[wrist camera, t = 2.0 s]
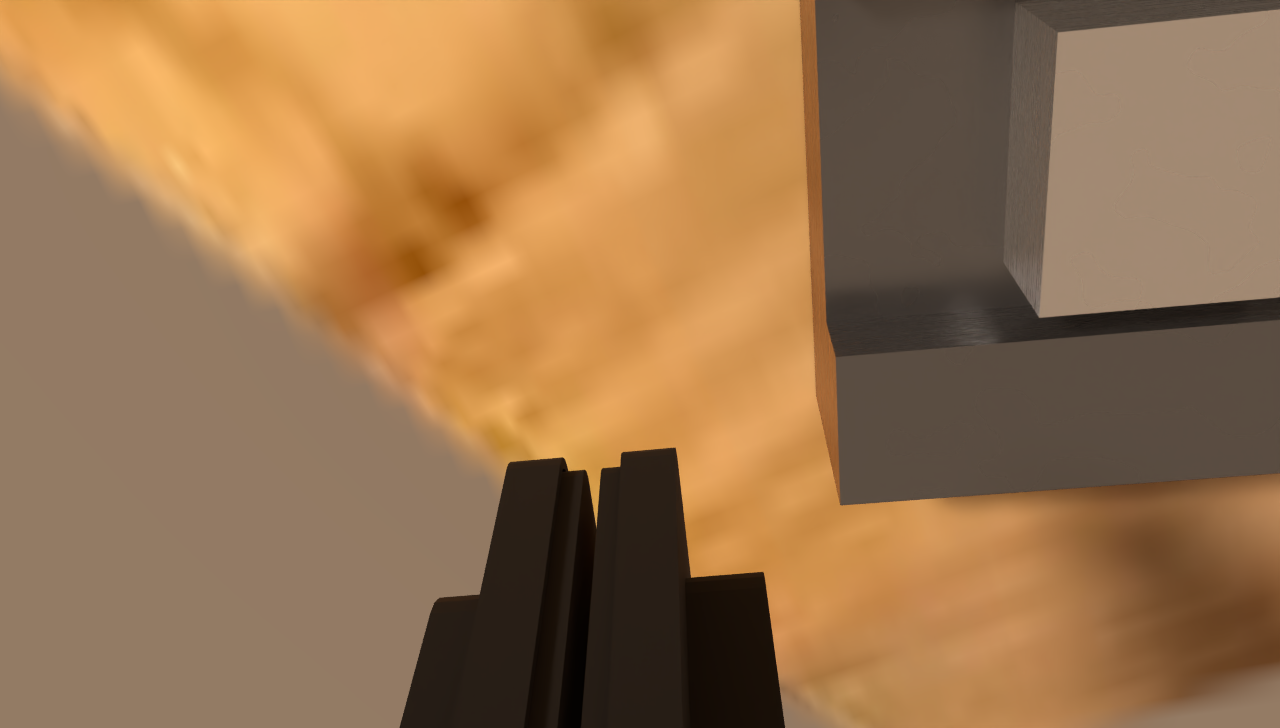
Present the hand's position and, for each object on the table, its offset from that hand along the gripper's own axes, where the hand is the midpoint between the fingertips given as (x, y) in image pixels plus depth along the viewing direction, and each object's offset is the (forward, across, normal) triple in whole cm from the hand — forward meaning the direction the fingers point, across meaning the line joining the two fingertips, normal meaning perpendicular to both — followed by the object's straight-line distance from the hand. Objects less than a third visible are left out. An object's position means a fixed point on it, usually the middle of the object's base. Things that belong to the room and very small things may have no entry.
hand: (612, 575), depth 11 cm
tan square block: (+11, -10, 0) cm, 15 cm away
